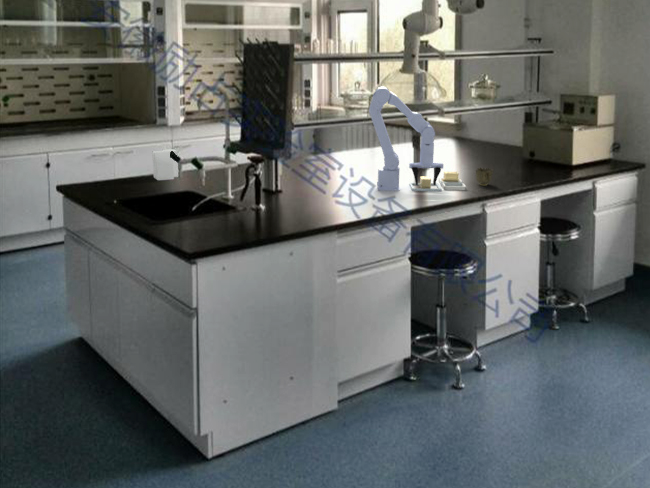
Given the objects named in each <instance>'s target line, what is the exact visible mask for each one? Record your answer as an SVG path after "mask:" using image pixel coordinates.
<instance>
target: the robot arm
mask: <svg viewBox="0 0 650 488" xmlns="http://www.w3.org/2000/svg"><path fill="white" fill-rule="evenodd" d="M385 104H388V105H391V106H394V107H395V108H397V109H398V110H399V111H400V113H402V114H403V115H404V116H405V117H406V118H407V123H408V124H409V125H410V126H411V127H412V128H413V129H414V130H415V131H416V132H417V133H420V137H421V141H420V146H419V147H420V148H419V149H420V151H419V162H409V163H408V165H409V167H408V168H409V169H411V171H412V173H413V176H414V181H415V182H414V183H416V185H415V186H419V185H418V183H419V181H418V179H419V178H418V176H419V169H433V181H432V183H433V185H432V186H436V185H435V184H436V183H437V180H438V177H439V176H440V173H441V171H442V170H443V169H444V163H443V162H442V163H440V162H439V163H438V162H434V155H435V154H434V151H435V144H434V142H435V139H434V138H435V136H436V132H435V129H434V127H433V125H431V124H430V122H429V121H426V119H424V118H423V115H422V114H421V113H418V112H417V111H416V112H415V111H412V110H411V109H410V108H409V107H408V106H407V105H406V104H405V103H404V102H403V101H402V99H400V98H399V96H398V95H396V93H394V92H393V91H391V90H389V89H388V87H386V86H379V87H378V88H377V89H375V91H374V93H373V94H372V97H371V101H370V105H369V108H368V112H369V115H370V118H371V121H372V124H373V127H374V130H375V132H376V135H377V139H378V141H379V144H380V146H381V147H380V148H381V150H382V154H383V160H384V166H383V167H382V168H379V169H377V170H378V171H377V183H376V185H377V189H378V190H377V191H401V188H400V171H401V170H400V167H399V165H400V160H399V159H400V158H399V155H398V154H397V153H396V152H395V151H394V147H393V145H392V141H391V139H390V136H389V132H388V131H387V128H386V124H385V121H384V118H383V115H382V112H381V111H382V110H383V107H384V105H385Z"/></svg>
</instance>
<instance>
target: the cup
mask: <svg viewBox="0 0 650 488" xmlns="http://www.w3.org/2000/svg"><path fill="white" fill-rule="evenodd" d="M493 173H494V169H493V168H490V167H489V168H485V167H483V168H482V167H479V168H476V169H475V174H476V175H475V176H476V182H478V184H479V186H488V184H489V183H491V182H492V176H493Z"/></svg>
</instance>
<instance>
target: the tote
mask: <svg viewBox="0 0 650 488" xmlns="http://www.w3.org/2000/svg"><path fill="white" fill-rule="evenodd" d="M408 185H409V187H410V189H411V191H412V192H415V191H417V192H442V190H443V188H442V186H441V185H440V183H439V182H436V184H435V185H433V182H431V186H435V187H436V188H431V189H421V188H415V187H414V186H420V182H418V185H416V182H409V184H408Z"/></svg>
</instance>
